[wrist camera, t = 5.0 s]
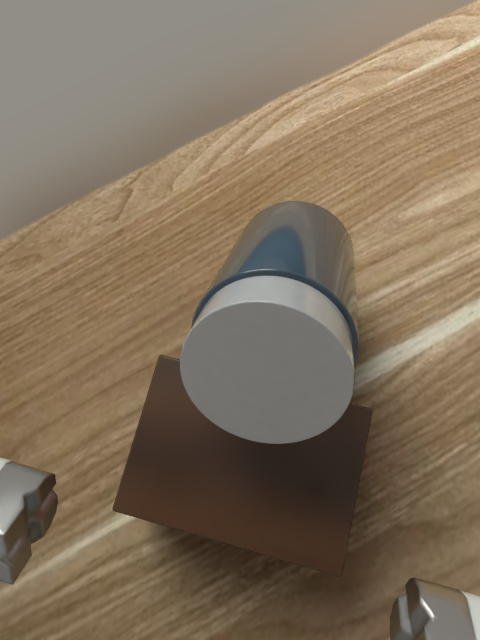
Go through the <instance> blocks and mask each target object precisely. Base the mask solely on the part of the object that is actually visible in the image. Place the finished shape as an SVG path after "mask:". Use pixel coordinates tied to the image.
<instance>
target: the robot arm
mask: <svg viewBox="0 0 480 640" xmlns="http://www.w3.org/2000/svg"><path fill="white" fill-rule="evenodd" d="M55 484H56V479H55V474H53V473H50V472H46V471H43V470H40V469H36V468H33V467H29V466H26V465H23V464H19V463H16V462H14V461H11V460H7V459H3V458H0V581H2V582H5V583H9V584H14V582H15V581H16V579H17V578H18V576H19V574H20V573H21V571H22V570H23V568H24V567H25V565H26V564H27V562H28V560H29V559H30V557H31V556H32V552H31V544H32V543H34V542H36V541H37V540H39V539H41V538H42V537H44V535H45V533H46V532H47V530H48V529H49V527H50V525H51V523H52V521H53V518H54V516H55V513H56V510H57V504H58V499H57V495H56V494H55V492H54V491H53V490H52V489H53V487H54V486H55ZM390 639H391V640H480V596H477V595H474V594H470V593H467V592H463V591H460V590H458V589H454V588H451V587H447V586H443V585H439V584H436V583H432V582H428V581H425V580H421V579H417V578H412V579H410V580H409V581H408V582H407V584H406V594H403V595H400V596H398V597H397V599H396V601H395V602H394V604H393V607H392V612H391V616H390Z"/></svg>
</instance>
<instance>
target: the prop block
mask: <svg viewBox="0 0 480 640" xmlns="http://www.w3.org/2000/svg"><path fill="white" fill-rule="evenodd" d="M371 416H372V409H370V408H366V407H362V406H358V405H355V404H351V403H349V405H348V407H347V409H346V411H345V412H344V414H343V415H342V416H341V418H340V419H339V420H338V421H337V422H336V423H335V424H334V425H332V426H331V427H330V428H329V429H327V430H326V431H324V432H322V433H321V434H319V435H317V436H314V437H312V438H310V439H306V440H303V441H299V442H294V443H285V444H268V443H260V442H255V441H251V440H247V439H244V438H241V437H238V436H236V435H233V434H231V433H229V432H227V431H225V430H223V429H221V428H220V427H218V426H217V425H215V424H214V423H212V422H211V421H210V420H209V419H208V418H206V417H205V416H204V415H203V414H202V413H201V412H200V411H199V410H198V408H197V407H196V406H195V405H194V403H193V402H192V400H191V399H190V397H189V395H188V394H187V392H186V389H185V387H184V385H183V381H182V377H181V371H180V360H179V359H175V358H171V357H167V356H164V355H160V356H159V358H158V361H157V364H156V368H155V371H154V374H153V378H152V381H151V384H150V387H149V391H148V394H147V397H146V401H145V404H144V407H143V410H142V414H141V417H140V420H139V423H138V427H137V430H136V433H135V437H134V440H133V443H132V446H131V450H130V453H129V456H128V460H127V463H126V466H125V469H124V473H123V476H122V479H121V482H120V486H119V489H118V492H117V496H116V499H115V502H114V505H113V511H116V512H119V513H123V514H126V515H129V516H133V517H136V518H140V519H143V520H146V521H150V522H153V523H157V524H160V525H164V526H167V527H170V528H174V529H177V530H181V531H184V532H188V533H191V534H194V535H198V536H201V537H205V538H208V539H212V540H215V541H218V542H222V543H225V544H229V545H232V546H236V547H239V548H242V549H246V550H249V551H253V552H256V553H259V554H263V555H266V556H270V557H273V558H277V559H280V560H283V561H287V562H290V563H294V564H297V565H301V566H304V567H307V568H311V569H314V570H318V571H321V572H325V573H328V574H331V575H335V576H338V577H341V576H342V572H343V567H344V561H345V556H346V551H347V545H348V540H349V534H350V529H351V524H352V518H353V513H354V508H355V502H356V497H357V492H358V486H359V481H360V475H361V470H362V465H363V459H364V454H365V449H366V443H367V438H368V432H369V427H370V422H371Z"/></svg>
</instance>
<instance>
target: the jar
mask: <svg viewBox="0 0 480 640" xmlns="http://www.w3.org/2000/svg"><path fill="white" fill-rule="evenodd" d="M358 353H359V338H358V319H357V301H356V282H355V263H354V249H353V244H352V241H351V238H350V236H349V234H348V232H347V230H346V228H345V227H344V225H343V224H342V223H341V222H340V221H339V219H338V218H337V217H335V216H334V215H333V214H332V213H331V212H329V211H327V210H326V209H324V208H322V207H320V206H317V205H315V204H311V203H308V202H301V201H288V202H282V203H277V204H274V205H272V206H269V207H267V208H265V209H264V210H262V211H260V212H259V213H258V214H256V215H255V216H254V217H253V218H252V219H251V220H250V221H249V223H248V224H247V225H246V226H245V228H244V230H243V231H242V233H241V235H240V236H239V238H238V240H237V241H236V243H235V245H234V246H233V248H232V250H231V251H230V253H229V255H228V256H227V258H226V260H225V261H224V263H223V265H222V267H221V268H220V270H219V272H218V273H217V275H216V277H215V278H214V280H213V282H212V283H211V285H210V287H209V288H208V290H207V292H206V293H205V295H204V297H203V298H202V300H201V302H200V303H199V305H198V307H197V309H196V311H195V314H194V317H193V322H192V327H191V330H190V332H189V333H188V335H187V337H186V339H185V341H184V344H183V346H182V350H181V355H180V371H181V377H182V381H183V385H184V387H185V389H186V392H187V394H188V395H189V397H190V399H191V400H192V402H193V403H194V405H195V406H196V407H197V408H198V410H199V411H200V412H201V413H202V414H203V415H204V416H205V417H206V418H208V419H209V420H210V421H211V422H212V423H214V424H215V425H217V426H218V427H220V428H221V429H223V430H225V431H227V432H229V433H231V434H233V435H236V436H238V437H241V438H244V439H247V440H251V441H255V442H260V443H268V444H285V443H294V442H299V441H303V440H306V439H310V438H312V437H314V436H317V435H319V434H321V433H322V432H324V431H326V430H327V429H329V428H330V427H331V426H332V425H334V424H335V423H336V422H337V421H338V420H339V419H340V418H341V416H342V415H343V414H344V412H345V411H346V409H347V407H348V405H349V403H350V401H351V398H352V395H353V391H354V369H355V366H356V363H357V359H358Z"/></svg>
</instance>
